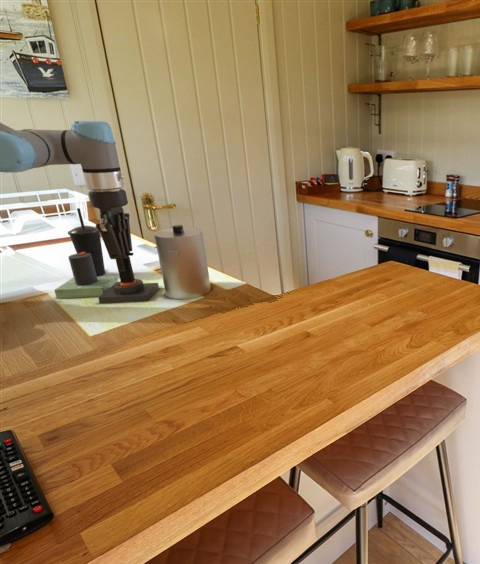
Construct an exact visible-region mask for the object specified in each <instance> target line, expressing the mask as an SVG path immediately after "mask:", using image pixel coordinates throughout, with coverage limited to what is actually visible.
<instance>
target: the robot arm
mask: <svg viewBox="0 0 480 564" xmlns="http://www.w3.org/2000/svg"><path fill="white" fill-rule="evenodd" d="M70 126H71V128H70V129H34V128H29V129H28V128H27V129H26V128H25V129H14V128H12V127H10V126H8V125H6V124H4V123H2V122H0V173H5V174H6V173H7V174H8V173H22V172H25V171H28V170H33V169H38V168H43V167H47V166H59V165H80V166H81V171H82V174H83V179H84V183H85V187H86V189H87V190H88V193H87V194H88V198H89V202H90V206H91V208H94V209H98V210H99V218H100V223H96V225H95V227H96V228H97V229H98V230H99V232H100V237H101V239H102V241H103V244H104V246H105V249H106V251H107V255H108V257H109V259H110V260H115V263H116V267H117V271H118V276H119V281H121V283H128V282H134V281H135V279H136V278H135V275H134V270H133V266H132V262H131V261H132V260H131V256H134V252H133V242H132V233H131V226H130V213H128V212H125V211H124V208H123V207H126V206H128V204H129V201H128V196H127V191H126V190H125V189H124V187H125V183H124V179H125V176H124V175H123V174H122V170H121V165H120V160H119V155H118V150H117V145H116V144H117V142H116V140H115V137H114V134H113V131H112V126H111V125H110V123H108V122H107V121H104V120H73V121H72V122H71V123H70Z"/></svg>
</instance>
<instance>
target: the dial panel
mask: <svg viewBox="0 0 480 564" xmlns="http://www.w3.org/2000/svg"><path fill="white" fill-rule="evenodd" d="M97 280H98V281H97V282H96V283H93V284H90V285H76V283H75V279H74V277H72V278H70V279H69V280H67V281H66V282H63V284H61V285H59V286H58V287H56V288H55V289H54V293H55V297H56V299H58V300H59V299H75V298H76V299H77V298H94V297H95V298H96V297H100V296H101V295H102V294H103V293H105V292H106V291H107V290H108V289H109V288H111V287H112V286H113V285H114V284H115V283H117V282H119V279H118V275H107V276H105V275H102V276H99V277H97Z"/></svg>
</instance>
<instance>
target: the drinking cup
mask: <svg viewBox="0 0 480 564" xmlns="http://www.w3.org/2000/svg"><path fill="white" fill-rule="evenodd" d="M76 211H77V214H78V215H77V216H78V220H79V222H80V226H77V227H76V226H75V227H74V228H72V229H70V230H68V231H67V235H69V237H70V240H71V242H72V245H73V247H74V250H75V252H76V253H75V254H78V253H82V252H85V253H90V254H91V256H92V260H93V264H94V268H95V272H96V276H97V277H103V276H105V275H106V270H105V261H104V255H103V247H102V240H101V239H102V238H101V233H100V232H99V230H98V229H97V227H96V226H92V225H85V224H84V219H83V215H82V211H81V208H80V207H78V208H76Z"/></svg>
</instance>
